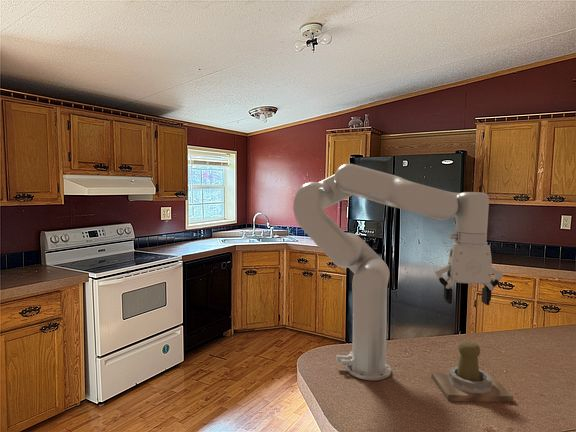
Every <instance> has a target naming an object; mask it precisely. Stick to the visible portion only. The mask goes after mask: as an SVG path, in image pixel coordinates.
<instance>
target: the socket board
mask: <svg viewBox="0 0 576 432" xmlns="http://www.w3.org/2000/svg"><path fill="white" fill-rule="evenodd" d="M457 370H458V365H456V366H452V367H450V369H449V371H448V372H437V371H436V372H431V379H432V380H433V382H434V383H435V385H436V386H437V387H438V389H439V390H440V392H441V393H442V395H443V396H444V397H445V398H446V400H447V401H448V402H450V401H451V402H492V403H493V402H495V403H496V402H497V403H500V402H501V403H513V401H514V396H513V395H512V393H511V392H509V390H507V388H505V387H504V386H503V385H502V384H501V383H500V382H499V381H498V380H497V379H496V378H495V377H494V376H492V374H491V373H489V372H487V371H485V370H483V369H481V368H479V376H480V382H474V381H469V380H465V379H462V378H460V377H458V376H457Z"/></svg>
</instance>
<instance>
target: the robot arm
mask: <svg viewBox="0 0 576 432" xmlns="http://www.w3.org/2000/svg"><path fill="white" fill-rule="evenodd" d="M352 196H355V197H358V198H362V199H365V200H368V201H372V202H375V203H378V204H382V205H385V206H387V207H391V208H397V209H400V210H404V211H407V212H411V213H414V214H416V215H420V216H423V217H428V218H430V219H435V220H437V221H446V220H449V219H452V218H455V231H454V233H451V234H449V239H450V240H452V241H454V242H452V244H451V246H450V250H449V254H448V261H447V264H446V265H444V266H442V267H440V268H438V269H435V270H434V274H435V276H436V278H437V281H438V282H439V283H440V284H441V285H442V286H443V299H444V301H445V302H446V303H448V305H449V304H452V303H453V288H452V287H453V286H454V285H455V284H456V283H459V284H475V285H476V284H480V285H483V287H482V288H481V302H482V303H483V304H484V305H486V306H490V302H491V301H492V291H493V290H494V289H495V287H496V286H498V284H500V281H501V280H502V279H503V276H504V273H503V272H501V271H499V270H497V269H495V268H494V267H493V262H492V260H493V259H492V252H491V246H490V245H488V244H487V240H488V223H489V205H490V196H489V195H488V194H487V193H486V192H481V191H480V192H478V191H477V192H476V191H463V192H455V191H454V192H453V191H452V192H451V191H447V190H444V189H440V188H436V187H432V186H428V185H425V184H422V183H419V182H414V181H410V180H408V179H406V178H403V177H401V176H398V175H394V174H390V173H388V172H384V171H380V170H377V169H373V168H368V167H365V166H361V165H358V164H354V163H344V164H342V165H340V166H339V167H338V168H337V169H336V171H335V173H334V174H333V175H331V176H328V177H326V178H325V179H322V180H321V181H319V182H317V181H310V182H306V183H303V185H301V186H300V187H299V188H298V190H296V193H295V196H294V199H293V214H294V218H295V219H296V220H295V221H296V222H297V223H298V225H299V226H300V228H301V229H302V231H304V232H305V233H306V235H307V236H308V237H309V238H310V239H311V240H312V241H313V242H314V244H315V245H316V246H317V247H318V248H319V249H320V250H321V251H322V252H323V253H324V254H325V256H326V257H327V258H329V259H330V261H331V262H332V263H333V264H334V265H335V266H337V267H338V268H342V269H349V270H350V271H351V272H352V273H353V277H352V281H351V284H352V285H351V289H352V342H351V343H352V347H351V348H352V350H350V351H349V354H348V353H347V354H346V355H342V354H337V355H336V356H335V359H336V363H340V365H341V366H346V370H347V372H348V373H349V374H350V375H351V376H353V377H355V378H356V379H361V380H365V381H381V380H386V379H387V378H389V377H390V376H391V374H392V368H391V366H390V365H389V364H388V363H386V361H387V359H386V358H387V325H388V323H387V322H388V321H387V315H388V313H387V312H388V308H387V307H388V305H387V304H388V284H389V281H390V277H391V276H390V269H389V266H388V265H387V263H386V262H385V261H384V260H383V258H382V257H380V255H379V254H377V253H376V252H375V250H374V249H372V247H370V245H369V244H368V243H367V242H366V241H365V240H363V238H361V237H360V236H359V235H357V234H356V233H352V232H345V231H344V229H342V228H341V227H340V226H339V224H337V222H336V221H335V220H334V219H332V218H331V216H329V215H328V214H327V213H326V212H325V209H327V208H330V207H331V206H334V205H336V204H337V203H340V202H342V201H344V200H347V199H348V198H350V197H352ZM445 273H446V275H447V278H446V279H444V276H443V274H445ZM493 275H494V276H493Z"/></svg>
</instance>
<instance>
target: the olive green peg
mask: <svg viewBox="0 0 576 432" xmlns="http://www.w3.org/2000/svg"><path fill="white" fill-rule="evenodd" d="M458 352H459V354H460V355H459V361H458V365H457V366H458V370H457V376H458V377H460V378H462V379H465V380H469V381H474V382H480V376H479V369H480V368H479V358H478V357H479V356H480V354H481V348H480V346H479V344H478V343H476V342H475V341H469V340H464V341H460V343H459V344H458Z"/></svg>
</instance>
